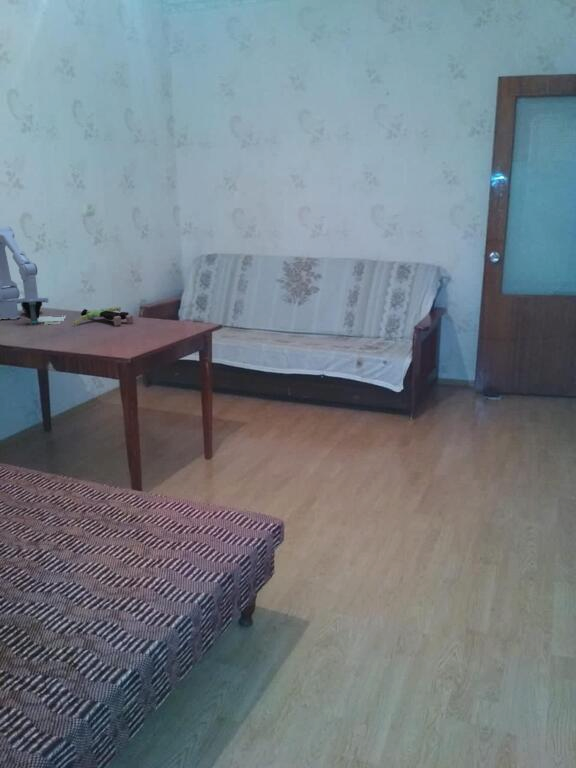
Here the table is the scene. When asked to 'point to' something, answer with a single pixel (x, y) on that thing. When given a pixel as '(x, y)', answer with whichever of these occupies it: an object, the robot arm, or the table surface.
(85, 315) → the toy
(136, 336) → the table surface
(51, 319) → the paper
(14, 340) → the table surface
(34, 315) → the marker
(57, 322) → the plate
